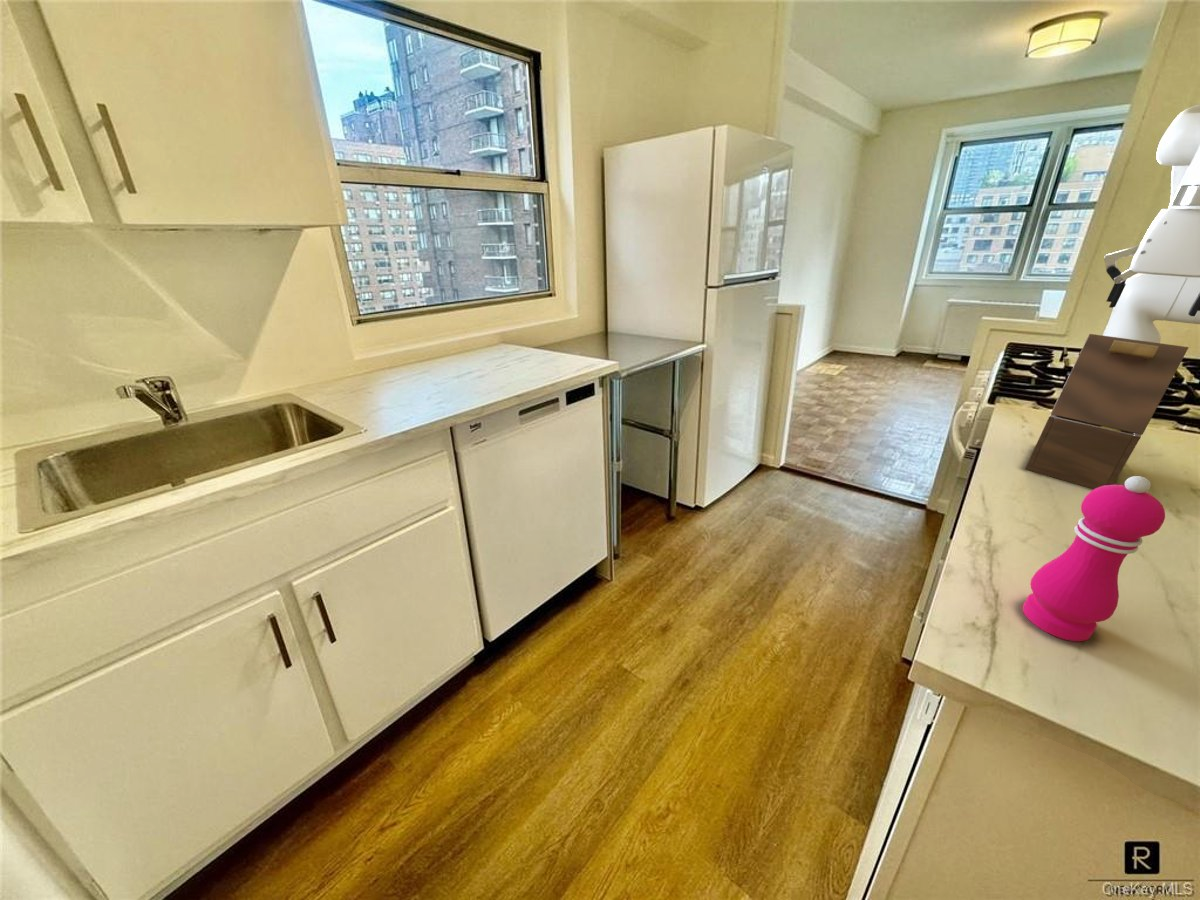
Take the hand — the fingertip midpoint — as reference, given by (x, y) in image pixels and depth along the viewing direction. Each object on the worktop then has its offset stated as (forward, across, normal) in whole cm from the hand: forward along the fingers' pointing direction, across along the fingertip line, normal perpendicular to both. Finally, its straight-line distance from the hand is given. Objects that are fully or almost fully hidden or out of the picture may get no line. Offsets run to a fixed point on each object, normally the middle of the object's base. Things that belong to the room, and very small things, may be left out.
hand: (1150, 310), depth 83 cm
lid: (+10, 0, +12) cm, 16 cm away
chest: (+28, 0, +8) cm, 29 cm away
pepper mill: (+28, -4, +59) cm, 66 cm away
